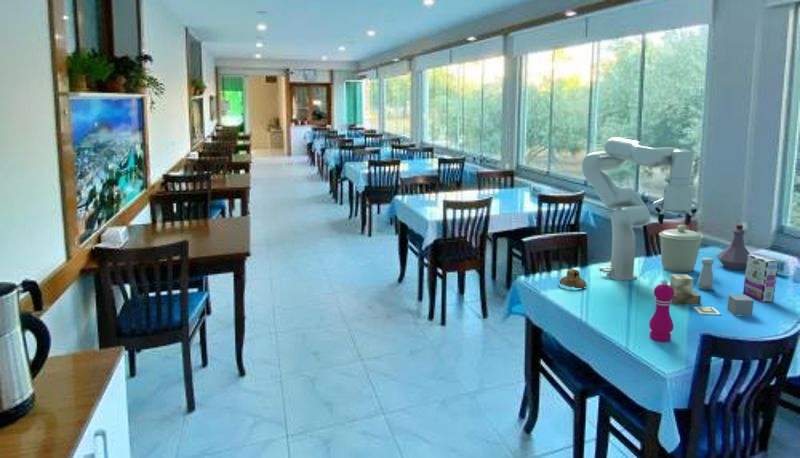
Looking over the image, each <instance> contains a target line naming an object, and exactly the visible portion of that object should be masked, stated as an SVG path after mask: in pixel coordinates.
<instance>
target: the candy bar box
mask: <svg viewBox="0 0 800 458" xmlns="http://www.w3.org/2000/svg"><path fill="white" fill-rule="evenodd" d="M779 263H780V262H779V261H778V260H776V259H773V258H771V257H767V256H764V255H761V254H751V255H748V256H747V265H746V269H745V274H744V283H743V291H742V292H743V294H742V295H747V296H748V297H750V298H751V299H753V300H756V301H758V302H761V303H774V299H775V291H776V290H775V289H776V284H777V283H776V282H777V275H778V268H779Z"/></svg>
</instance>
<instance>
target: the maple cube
mask: <svg viewBox="0 0 800 458" xmlns="http://www.w3.org/2000/svg"><path fill="white" fill-rule="evenodd" d="M669 283H670V284H669V286H671V287H672V288H673V290H674V293H675V294H692V290H693V284H694V278H693V277H691V276H690V275H688V274H679V273H678V274H673V273H672V274H670V282H669Z"/></svg>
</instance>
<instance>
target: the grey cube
mask: <svg viewBox="0 0 800 458" xmlns="http://www.w3.org/2000/svg"><path fill="white" fill-rule="evenodd" d="M727 299H728V300H727V308H726V309H727V311H728V312H729V313H731V315H733V316H736V315H741V316H740V317H753V310H754V309H753V308H754V302H755V301H754V300H755V299H753V298H752V297H749V296H747V295H745V294H728V298H727Z"/></svg>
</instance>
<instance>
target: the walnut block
mask: <svg viewBox="0 0 800 458" xmlns="http://www.w3.org/2000/svg"><path fill="white" fill-rule="evenodd" d="M701 299H702V295H701V294H699V293H697V292H696V291H695V290H694V289H692V294H675V293H674V296H673V298H671V300H672V302H671V303H672V304H671V305H674V306H684V305H685V306H687V305H688V306H690V305H691V306H692V305H693V306H696V305H698V306H699V305H701V301H702V300H701Z"/></svg>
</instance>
